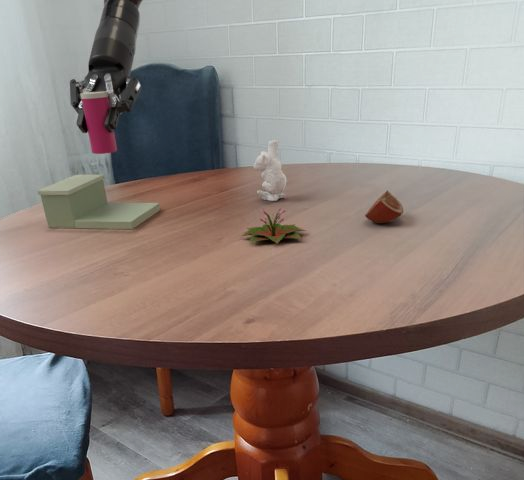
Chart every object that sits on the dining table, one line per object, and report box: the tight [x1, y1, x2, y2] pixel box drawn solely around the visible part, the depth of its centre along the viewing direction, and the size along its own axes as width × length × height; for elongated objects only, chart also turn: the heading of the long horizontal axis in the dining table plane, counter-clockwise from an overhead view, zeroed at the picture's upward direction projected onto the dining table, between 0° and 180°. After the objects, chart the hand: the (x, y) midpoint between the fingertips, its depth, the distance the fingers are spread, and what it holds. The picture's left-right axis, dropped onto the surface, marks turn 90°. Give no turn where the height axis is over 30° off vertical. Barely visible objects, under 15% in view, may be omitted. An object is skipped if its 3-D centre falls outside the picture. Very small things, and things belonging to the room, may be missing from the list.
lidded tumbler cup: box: [80, 91, 118, 155], centre depth 98 cm, size 5×5×10 cm
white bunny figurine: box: [253, 139, 288, 202], centre depth 115 cm, size 8×7×12 cm
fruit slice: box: [364, 189, 404, 224], centre depth 97 cm, size 8×7×5 cm
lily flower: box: [241, 208, 307, 245], centre depth 93 cm, size 12×12×5 cm
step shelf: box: [36, 174, 161, 230], centre depth 109 cm, size 15×18×7 cm
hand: (95, 129), depth 97 cm, fingers closed on lidded tumbler cup, 4 cm apart
